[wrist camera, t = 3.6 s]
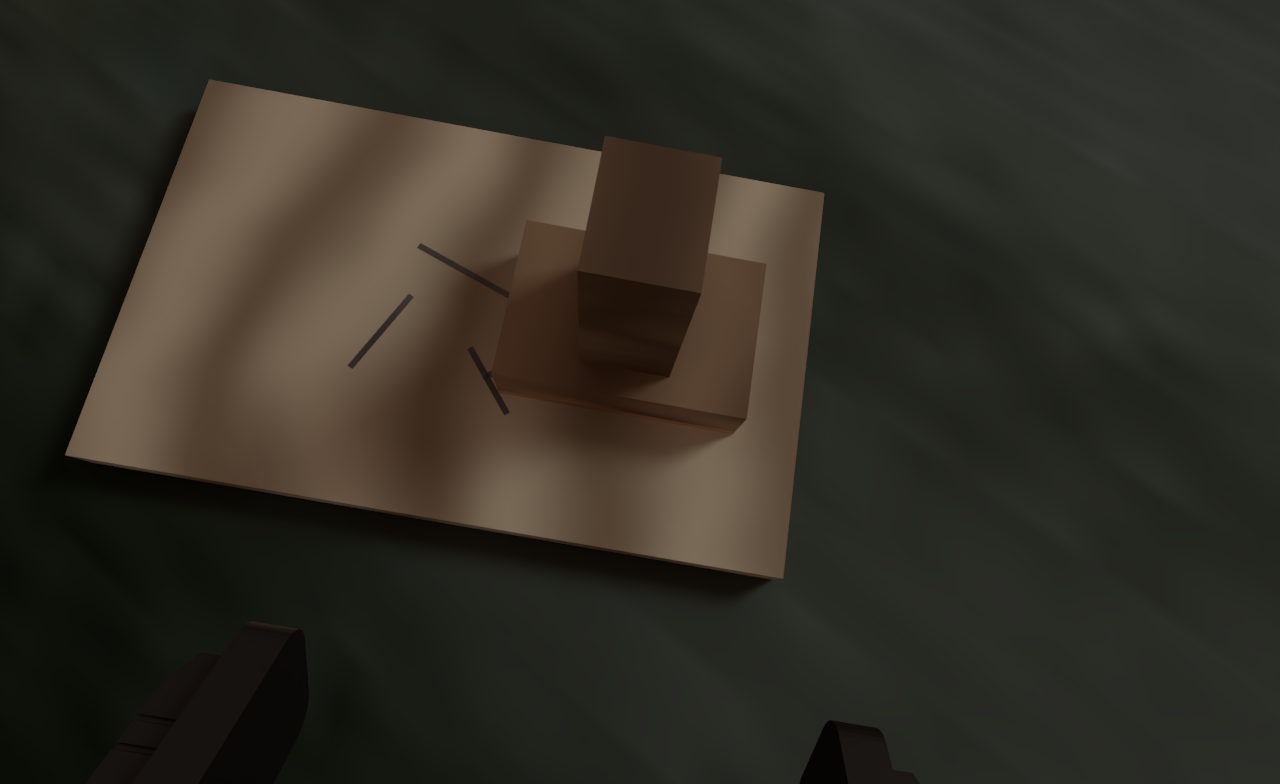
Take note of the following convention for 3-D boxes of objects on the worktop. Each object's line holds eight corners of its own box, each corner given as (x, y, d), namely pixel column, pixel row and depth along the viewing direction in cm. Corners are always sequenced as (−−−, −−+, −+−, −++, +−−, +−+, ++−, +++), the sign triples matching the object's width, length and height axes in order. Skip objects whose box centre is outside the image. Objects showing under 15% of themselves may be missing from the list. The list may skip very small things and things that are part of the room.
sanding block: (752, 290, 30) (831, 145, 20) (733, 434, 28) (809, 350, 19) (531, 250, 30) (505, 84, 20) (499, 392, 28) (454, 286, 19)
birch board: (813, 210, 33) (824, 193, 31) (772, 579, 28) (782, 578, 27) (226, 102, 32) (209, 79, 31) (92, 462, 28) (64, 454, 26)
